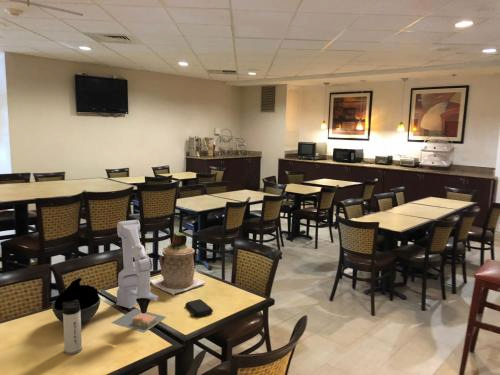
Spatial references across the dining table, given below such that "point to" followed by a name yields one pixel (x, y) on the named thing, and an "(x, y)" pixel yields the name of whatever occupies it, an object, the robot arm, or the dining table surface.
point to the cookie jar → (177, 267)
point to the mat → (127, 322)
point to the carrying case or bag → (198, 308)
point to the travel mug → (72, 327)
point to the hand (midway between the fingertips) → (144, 312)
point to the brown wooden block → (144, 320)
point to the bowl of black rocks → (78, 300)
